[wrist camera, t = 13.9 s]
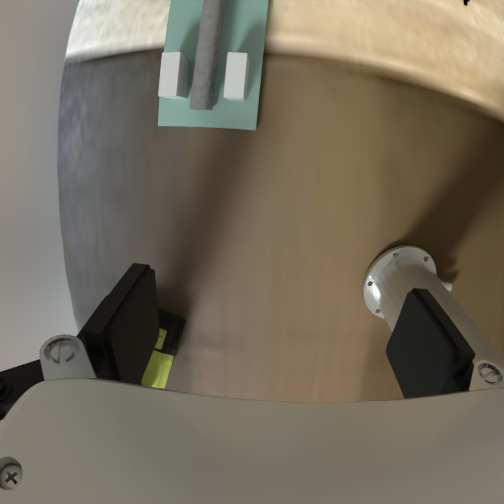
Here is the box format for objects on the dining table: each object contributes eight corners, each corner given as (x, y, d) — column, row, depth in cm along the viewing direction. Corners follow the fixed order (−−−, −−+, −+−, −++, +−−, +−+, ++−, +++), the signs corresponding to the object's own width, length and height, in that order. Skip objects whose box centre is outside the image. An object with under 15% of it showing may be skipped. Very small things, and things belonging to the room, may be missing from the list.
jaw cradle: (275, -65, 24) (277, -88, 18) (255, 130, 36) (254, 131, 31) (187, -65, 24) (176, -87, 18) (161, 125, 36) (143, 127, 30)
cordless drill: (158, 246, 43) (73, 371, 20) (204, 263, 44) (154, 405, 21) (135, 355, 52) (87, 469, 30) (171, 368, 53) (135, 487, 30)
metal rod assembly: (216, 111, 34) (209, 110, 30) (193, 109, 34) (183, 108, 30) (241, -61, 24) (239, -79, 19) (220, -61, 24) (215, -79, 19)
